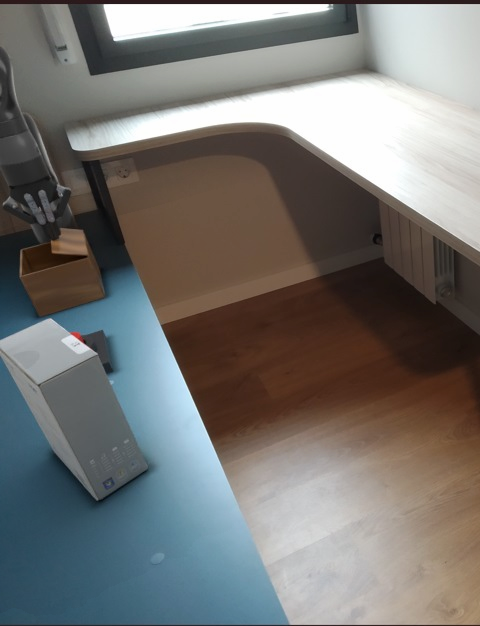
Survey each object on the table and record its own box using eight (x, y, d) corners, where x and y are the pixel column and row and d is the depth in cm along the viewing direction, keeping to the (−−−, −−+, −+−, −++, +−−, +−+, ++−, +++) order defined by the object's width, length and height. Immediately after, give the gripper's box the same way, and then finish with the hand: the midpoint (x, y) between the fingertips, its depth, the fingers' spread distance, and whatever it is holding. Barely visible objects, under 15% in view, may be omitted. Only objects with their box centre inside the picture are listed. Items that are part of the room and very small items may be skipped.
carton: (38, 287, 137) (20, 249, 132) (99, 270, 141) (84, 232, 136) (39, 317, 125) (19, 277, 120) (105, 297, 130) (89, 257, 125)
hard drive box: (151, 468, 86) (99, 354, 76) (98, 504, 82) (35, 387, 71) (102, 423, 96) (49, 315, 85) (52, 452, 91) (-11, 342, 80)
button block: (49, 357, 112) (40, 340, 110) (106, 339, 116) (99, 321, 114) (51, 393, 103) (41, 374, 101) (113, 371, 107) (105, 353, 105)
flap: (50, 228, 133) (50, 227, 132) (82, 231, 136) (82, 229, 136) (51, 253, 121) (51, 252, 121) (87, 255, 125) (87, 254, 125)
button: (59, 346, 109) (55, 337, 107) (84, 338, 110) (79, 329, 109) (60, 357, 105) (55, 348, 104) (85, 349, 107) (81, 340, 106)
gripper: (55, 143, 123) (88, 223, 132) (-20, 159, 118) (20, 241, 128) (57, 152, 117) (91, 235, 127) (-22, 170, 113) (20, 254, 122)
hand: (55, 238), depth 127 cm, fingers closed
